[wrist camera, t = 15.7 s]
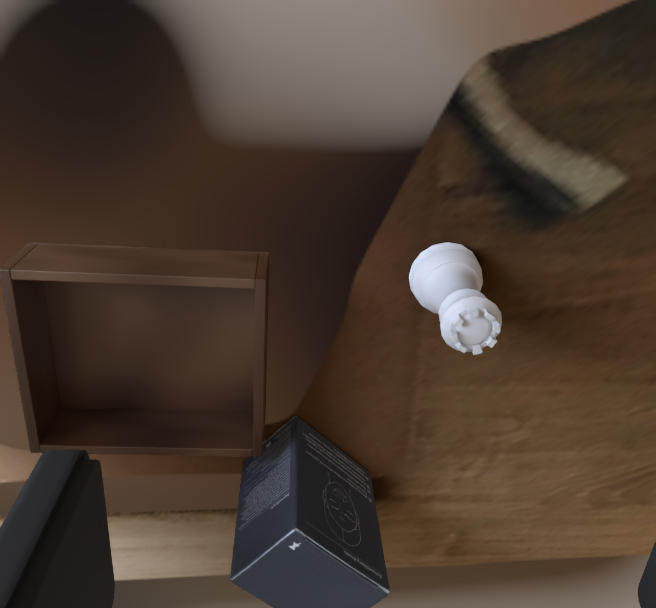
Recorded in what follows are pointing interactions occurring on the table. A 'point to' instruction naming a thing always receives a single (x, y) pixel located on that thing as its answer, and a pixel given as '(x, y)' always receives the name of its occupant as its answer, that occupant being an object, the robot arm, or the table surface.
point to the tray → (140, 348)
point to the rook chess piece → (456, 296)
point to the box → (307, 526)
